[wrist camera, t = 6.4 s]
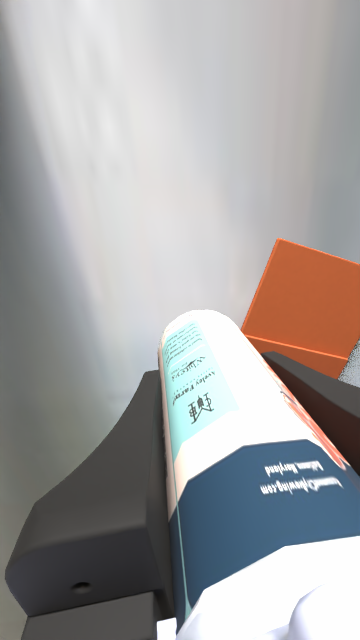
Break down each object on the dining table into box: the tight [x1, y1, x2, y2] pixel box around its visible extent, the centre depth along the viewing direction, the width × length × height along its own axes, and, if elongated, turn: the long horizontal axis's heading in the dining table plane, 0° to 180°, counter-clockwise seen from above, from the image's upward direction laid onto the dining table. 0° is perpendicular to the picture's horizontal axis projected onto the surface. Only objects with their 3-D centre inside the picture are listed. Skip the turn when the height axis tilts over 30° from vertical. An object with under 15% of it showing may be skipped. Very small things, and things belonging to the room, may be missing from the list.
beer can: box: [158, 310, 360, 640], centre depth 9 cm, size 5×5×12 cm
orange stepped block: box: [241, 238, 360, 379], centre depth 19 cm, size 9×13×1 cm
